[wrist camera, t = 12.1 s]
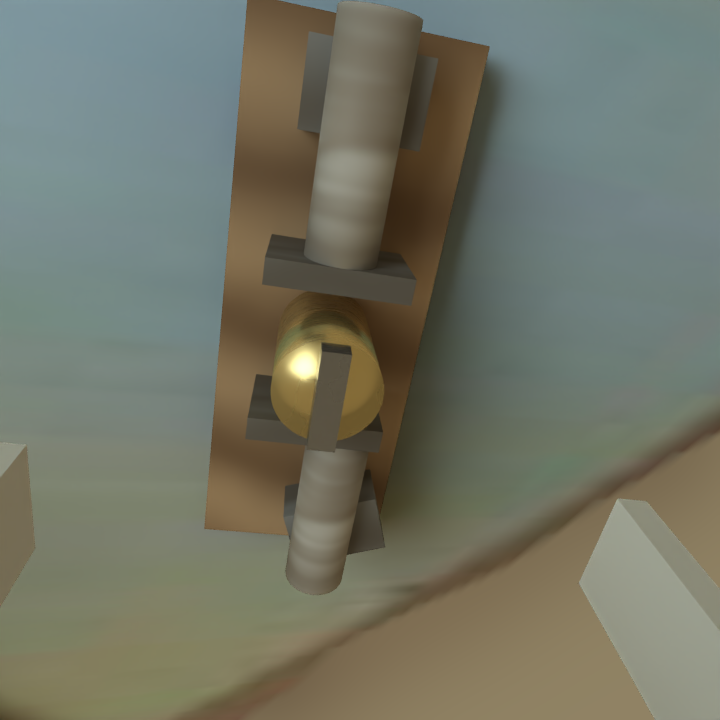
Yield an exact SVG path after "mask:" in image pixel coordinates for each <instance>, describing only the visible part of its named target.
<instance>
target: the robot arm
mask: <svg viewBox="0 0 720 720" xmlns="http://www.w3.org/2000/svg"><path fill="white" fill-rule="evenodd" d="M34 549H35V538H34V526H33V515H32V503H31V491H30V479H29V467H28V455H27V445H25V444H14V443H3V442H0V606H1V605H2V603H3V601H4V600H5V598H6V596H7V595H8V593H9V591H10V590H11V588H12V586H13V585H14V583H15V581H16V580H17V578H18V576H19V575H20V573H21V571H22V569H23V568H24V566H25V564H26V563H27V561H28V559H29V558H30V556H31V554H32V553H33V551H34ZM579 585H580V586H581V588H582V590H583V592H584V594H585V595H586V597H587V599H588V601H589V603H590V604H591V606H592V608H593V610H594V612H595V613H596V615H597V617H598V619H599V620H600V622H601V624H602V626H603V628H604V629H605V631H606V633H607V635H608V637H609V638H610V640H611V642H612V644H613V646H614V647H615V649H616V651H617V653H618V654H619V656H620V658H621V660H622V662H623V663H624V665H625V667H626V668H627V671H628V672H629V674H630V676H631V678H632V679H633V681H634V683H635V685H636V687H637V688H638V690H639V692H640V694H641V696H642V698H643V699H644V701H645V703H646V705H647V706H648V708H649V709H650V712H651V714H652V715H653V716H654V719H655V720H720V588H719V587H718V586H717V585H716V584H715V582H714V581H713V580H712V579H711V578H710V577H709V575H708V574H707V573H706V572H705V570H704V569H703V568H702V567H701V566H700V565H699V563H698V562H697V561H696V560H695V559H694V557H693V556H692V555H691V554H690V553H689V551H688V550H687V549H686V548H685V547H684V545H683V544H682V543H681V542H680V541H679V539H678V538H677V537H676V536H675V535H674V533H673V532H672V531H671V530H670V529H669V527H668V526H667V525H666V524H665V523H664V522H663V520H662V519H661V518H660V517H659V516H658V514H657V513H656V512H655V511H654V510H653V509H652V507H651V506H650V505H649V504H648V502H647V501H638V500H628V499H617V501H616V503H615V505H614V508H613V510H612V512H611V514H610V516H609V518H608V520H607V523H606V525H605V527H604V529H603V532H602V534H601V536H600V538H599V540H598V542H597V544H596V547H595V549H594V551H593V553H592V555H591V557H590V560H589V562H588V564H587V566H586V568H585V571H584V573H583V575H582V577H581V579H580V582H579Z"/></svg>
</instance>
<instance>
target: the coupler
mask: <svg viewBox="0 0 720 720" xmlns="http://www.w3.org/2000/svg"><path fill="white" fill-rule="evenodd" d="M383 398H384V383H383V378H382V374H381V371H380V367H379V363H378V360H377V356H376V353H375V349H374V345H373V342H372V338H371V335H370V331H369V327H368V324H367V320H366V317H365V314H364V312H363V310H362V309H361V307H360V306H359V305H358V303H357V302H356V301H355V300H353V299H352V298H351V297H345V296H338V295H331V294H324V293H317V292H310V291H307V292H305V293H302V294H300V295H299V296H297V297H296V298H295V299H293V300H292V301H291V302H290V303H289V304H288V305H287V307H286V308H285V310H284V312H283V314H282V316H281V319H280V323H279V329H278V336H277V344H276V352H275V359H274V367H273V374H272V382H271V401H272V405H273V408H274V410H275V413H276V414H277V416H278V418H279V419H280V420H281V422H282V423H283V424H284V425H285V426H286V427H287V428H288V429H290V430H291V431H292V432H294V433H296V434H298V435H299V436H302V437H304V438H307V450H314V451H325V452H335V448H336V443H337V440H342V439H345V438H349V437H351V436H353V435H355V434H357V433H359V432H360V431H362V430H363V429H365V428H366V427H367V426H368V425H369V424H370V423H371V422H372V421H373V420H374V418H375V417H376V415H377V414H378V412H379V410H380V408H381V405H382V402H383Z"/></svg>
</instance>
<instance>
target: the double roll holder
mask: <svg viewBox="0 0 720 720" xmlns="http://www.w3.org/2000/svg"><path fill="white" fill-rule="evenodd" d="M422 25H423V19H421V18H420V17H419V16H417V15H414V14H412V13H409V12H407V11H403V10H400V9H397V8H393V7H389V6H384V5H379V4H374V3H368V2H359V1H342V2H339V3H338V6H337V13H334V12H329V11H324V10H320V9H315V8H311V7H306V6H301V5H297V4H292V3H288V2H283V1H278V0H247V10H246V23H245V35H244V47H243V60H242V72H241V84H240V97H239V109H238V121H237V134H236V146H235V158H234V171H233V183H232V195H231V208H230V220H229V232H228V245H227V257H226V269H225V282H224V294H223V306H222V319H221V331H220V343H219V355H218V368H217V380H216V392H215V405H214V417H213V429H212V442H211V454H210V466H209V479H208V491H207V503H206V516H205V528H204V529H214V530H227V531H240V532H253V533H265V534H278V535H289V538H290V545H289V551H288V558H287V564H286V570H285V571H286V577H287V579H288V581H289V583H290V584H291V585H292V586H293V587H294V588H296V589H297V590H299V591H301V592H303V593H306V594H310V595H323V594H327V593H329V592H331V591H333V590H335V589H336V588H337V587H338V586H339V584H340V582H341V579H342V575H343V570H344V565H345V561H346V556H347V555H348V554H353V553H358V552H363V551H368V550H373V549H379V548H384V547H385V544H384V538H383V533H382V527H381V521H380V512H381V508H382V503H383V499H384V495H385V491H386V486H387V482H388V478H389V474H390V469H391V465H392V461H393V456H394V452H395V448H396V444H397V439H398V435H399V431H400V427H401V422H402V418H403V414H404V410H405V405H406V401H407V397H408V393H409V388H410V384H411V380H412V376H413V371H414V367H415V363H416V358H417V354H418V350H419V346H420V341H421V337H422V333H423V329H424V324H425V320H426V316H427V312H428V307H429V303H430V299H431V295H432V290H433V286H434V282H435V278H436V273H437V269H438V265H439V261H440V256H441V252H442V248H443V243H444V239H445V235H446V231H447V226H448V222H449V218H450V214H451V209H452V205H453V201H454V197H455V192H456V188H457V184H458V180H459V175H460V171H461V167H462V163H463V158H464V154H465V150H466V145H467V141H468V137H469V133H470V128H471V124H472V120H473V116H474V111H475V107H476V103H477V99H478V94H479V90H480V86H481V82H482V77H483V73H484V69H485V65H486V60H487V56H488V52H489V46H485V45H480V44H476V43H471V42H467V41H462V40H457V39H453V38H448V37H444V36H439V35H434V34H430V33H425V32H421V30H422ZM307 291H310V292H317V293H324V294H331V295H338V296H345V297H351V298H352V299H353V300H355V301H356V302H357V303H358V305H359V306H360V307H361V309H362V310H363V312H364V314H365V317H366V320H367V324H368V327H369V331H370V335H371V338H372V342H373V345H374V349H375V353H376V356H377V360H378V363H379V367H380V371H381V374H382V378H383V383H384V398H383V402H382V405H381V408H380V410H379V412H378V414H377V415H376V417H375V418H374V420H373V421H372V422H371V423H370V424H369V425H368V426H367V427H366V428H365V429H363V430H362V431H360V432H359V433H357V434H355V435H353V436H351V437H349V438H345V439H342V440H337V443H336V448H335V452H325V451H314V450H307V438H304V437H302V436H299V435H298V434H296V433H294V432H292V431H291V430H290V429H288V428H287V427H286V426H285V425H284V424H283V423H282V422H281V420H280V419H279V418H278V416H277V414H276V413H275V410H274V408H273V405H272V401H271V382H272V374H273V367H274V359H275V352H276V344H277V336H278V329H279V323H280V319H281V316H282V314H283V312H284V310H285V308H286V307H287V305H288V304H289V303H290V302H291V301H292V300H293V299H295V298H296V297H297V296H299V295H300V294H302V293H305V292H307Z"/></svg>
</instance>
